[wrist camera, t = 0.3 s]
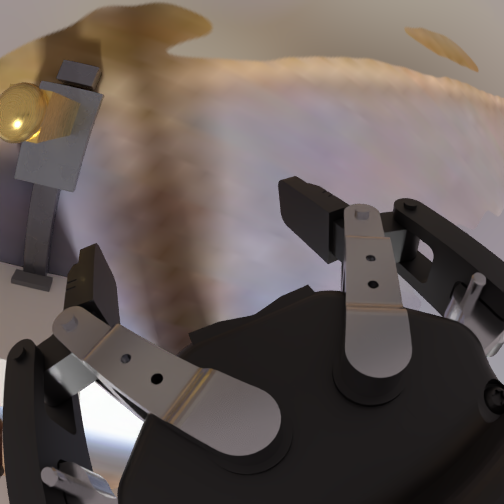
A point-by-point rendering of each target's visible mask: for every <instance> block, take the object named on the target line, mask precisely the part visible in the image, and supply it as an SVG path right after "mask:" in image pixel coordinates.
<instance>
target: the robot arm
mask: <svg viewBox="0 0 504 504" xmlns="http://www.w3.org/2000/svg"><path fill="white" fill-rule="evenodd" d="M278 189H279V199H280V209H281V215H282V219H283V221H284V223H285V224H286V225H287V226H288V227H289V228H290V229H291V230H292V231H293V232H294V233H295V234H296V235H298V236H299V237H300V238H301V239H302V240H303V241H304V242H305V243H306V244H307V245H308V246H309V247H310V248H312V249H313V250H314V251H315V252H316V253H317V254H318V255H319V256H320V257H321V258H322V259H323V260H324V261H325V262H326V263H327V264H330V263H332V262H334V261H336V260H340V261H341V262H342V265H341V291H319V292H314V291H313V290H312V289H311V288H310V287H309V285H306V286H304V287H302V288H299V289H297V290H295V291H293V292H290V293H288V294H286V295H283V296H281V297H279V298H278V299H277V300H275V301H274V302H272V303H271V304H269V305H268V306H267V307H265V308H264V309H262V310H261V311H259V312H258V313H256V314H254V315H251V316H247V317H242V318H236V319H231V320H226V321H220V322H217V323H215V324H212V325H210V326H207V327H204V328H202V329H199V330H197V331H194V332H191V333H189V336H190V339H191V341H192V343H191V344H190V345H188V346H187V347H185V348H184V349H183V350H182V351H181V352H180V353H179V354H178V355H177V356H175V355H173V354H172V353H170V352H168V351H166V350H164V349H162V348H160V347H159V346H157V345H155V344H153V343H151V342H150V341H148V340H146V339H144V338H142V337H141V336H139V335H137V334H135V333H134V332H132V331H130V330H129V329H127V328H125V327H124V326H122V325H120V317H119V308H118V297H117V286H116V282H115V279H114V276H113V274H112V272H111V270H110V268H109V266H108V264H107V262H106V260H105V258H104V255H103V253H102V251H101V249H100V247H99V245H98V244H97V243H96V244H93V245H91V246H88V247H86V248H83V249H81V250H80V254H79V262H78V264H75V265H73V266H72V268H71V270H70V272H69V273H68V277H67V284H66V291H65V299H64V308H63V311H62V312H61V313H60V314H59V315H58V316H57V317H56V319H55V320H54V322H53V325H52V332H53V334H52V335H51V336H50V337H49V338H47V339H46V340H45V341H43V342H42V343H40V344H39V345H37V346H36V344H35V343H34V342H33V341H32V340H31V339H23V340H21V341H19V342H17V343H16V344H15V345H14V346H13V347H12V348H11V350H10V351H9V353H8V356H7V360H6V369H5V380H4V395H3V448H4V463H5V473H6V482H7V489H8V496H9V501H10V504H504V385H503V384H502V383H501V382H500V381H499V380H498V379H497V377H496V375H495V374H494V372H493V370H492V369H491V367H490V365H489V362H488V360H487V358H486V357H491V356H494V355H495V354H496V353H497V352H498V351H499V349H500V348H501V346H502V345H503V343H504V262H503V261H502V260H501V259H500V258H498V257H497V256H496V255H495V254H493V253H492V252H491V251H489V250H488V249H487V248H486V247H484V246H483V245H482V244H480V243H479V242H477V241H476V240H475V239H474V238H472V237H471V236H469V235H468V234H467V233H465V232H464V231H462V230H461V229H460V228H458V227H457V226H455V225H454V224H453V223H451V222H450V221H448V220H447V219H445V218H444V217H442V216H441V215H439V214H438V213H436V212H435V211H433V210H432V209H430V208H429V207H427V206H426V205H424V204H422V203H421V202H419V201H417V200H414V199H409V198H402V199H398V200H396V201H395V202H394V209H393V212H385V213H379V211H378V210H377V209H376V208H375V207H373V206H370V205H367V204H353V205H348V204H347V203H345V202H344V201H342V200H341V199H339V198H337V197H336V196H334V195H332V194H331V193H329V192H327V191H326V190H325V189H323V188H321V187H320V186H317V185H313V184H310V183H306V182H305V181H303V180H302V179H300V178H298V177H296V176H294V177H290V178H287V179H283V180H280V181H279V183H278ZM420 239H421V240H422V241H423V242H425V243H426V244H427V245H428V246H430V248H431V249H432V251H433V254H434V259H433V262H431V261H430V260H429V259H427V258H426V257H425V256H424V255H423V254H421V253H420V252H419V251H418V245H419V241H420ZM397 273H398V274H399V275H400V276H401V277H402V278H403V279H405V280H406V281H407V282H408V283H409V284H410V285H411V286H412V287H413V288H414V289H415V290H416V291H417V292H418V293H419V294H420V295H421V296H423V298H424V299H425V300H426V301H427V302H429V303H430V304H431V305H432V306H433V307H434V308H435V309H436V310H437V311H438V312H439V313H440V314H441V315H442V316H443V317H440V316H436V315H432V314H428V313H425V312H421V311H417V310H413V309H409V308H405V307H403V304H402V298H401V292H400V286H399V280H398V274H397ZM94 381H95V382H96V383H97V384H98V385H99V386H100V387H101V388H103V389H104V390H105V391H106V392H107V393H109V394H110V395H111V396H112V397H114V398H115V399H116V400H117V401H119V402H120V403H121V404H122V405H124V406H125V407H126V408H127V409H129V410H130V411H131V412H132V413H133V414H135V415H136V416H137V417H138V418H140V419H141V420H142V421H143V422H144V423H143V426H142V428H141V430H140V433H139V435H138V438H137V440H136V443H135V445H134V447H133V450H132V452H131V455H130V457H129V460H128V462H127V465H126V467H125V470H124V472H123V475H122V477H121V480H120V483H119V487H118V498H117V497H115V495H114V494H113V492H112V491H111V489H110V486H109V484H108V483H107V481H106V480H105V479H104V478H103V477H101V476H100V475H98V474H96V473H94V472H93V470H92V466H91V462H90V457H89V453H88V448H87V443H86V438H85V433H84V428H83V422H82V416H81V410H80V403H79V395H78V392H79V391H81V390H82V389H84V388H85V387H87V386H88V385H90V384H91V383H93V382H94Z"/></svg>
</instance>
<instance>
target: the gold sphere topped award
mask: <svg viewBox="0 0 504 504" xmlns="http://www.w3.org/2000/svg"><path fill="white" fill-rule="evenodd" d="M103 98H104V95H103V94H100V93H96V92H92V91H88V90H83V89H79V88H75V87H70V86H66V85H61V84H56V83H51V82H46V81H41V83H40V86H39V87H37V86H36V85H34V84H31V83H18V84H10V87H9V88H8V89H7V90H5V91H4V92H3V93H2V94H1V96H0V138H1V139H2V140H3V141H5V142H8V143H21V142H22V144H21V149H20V153H19V157H18V162H17V167H16V172H15V177H14V179H18V180H22V181H27V182H31V183H35V184H40V185H44V186H48V187H53V188H57V189H61V190H65V191H70V192H74V190H75V188H76V184H77V180H78V176H79V172H80V168H81V165H82V161H83V158H84V154H85V151H86V147H87V144H88V141H89V138H90V134H91V131H92V128H93V125H94V122H95V120H96V117H97V114H98V111H99V108H100V106H101V103H102V100H103Z"/></svg>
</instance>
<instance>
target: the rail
mask: <svg viewBox="0 0 504 504" xmlns="http://www.w3.org/2000/svg"><path fill="white" fill-rule="evenodd" d="M101 74H102V72H101V70H100V68H99V67H95V66H91V65H87V64H82V63H78V62H73V61H68V60H64V61H63V63H62V65H61V68H60V70H59V73H58V75H57V77H56V79H58V80H59V81H61V82H62V83H66V84H71V85H75V86H80V87H84V88H88V89H92V90H95V89H96V86H97V84H98V81H99V79H100V77H101ZM59 194H60V189H57V188H53V187H48V186H44V185H40V184H35V183H34V185H33V190H32V196H31V201H30V208H29V214H28V222H27V230H26V239H25V250H24V263H23V271H24V272H28V273H32V274H37V275H41V276H47V274H48V265H49V256H50V247H51V240H52V233H53V226H54V220H55V215H56V209H57V204H58V199H59Z"/></svg>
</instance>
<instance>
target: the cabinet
mask: <svg viewBox="0 0 504 504" xmlns="http://www.w3.org/2000/svg"><path fill="white" fill-rule="evenodd" d="M66 284H67V277H63V276H59V275H54V274H50V273H48V274H47V276H41V275H37V274H32V273H28V272H24V271H23V267H20V266H16V265H12V264H8V263H4V262H0V406H2V407H3V395H4V380H5V369H6V360H7V356H8V353H9V351H10V350H11V348H12V347H13V346H14V345H15V344H16V343H17V342H19V341H21V340H23V339H31V340H32V341H33V342H34V343H35V344H36V346H37V345H39V344H40V343H42V342H43V341H45V340H46V339H47V338H49V337H50V336H51V335H52V334H53V332H52V325H53V322H54V320H55V319H56V317H57V316H58V315H59V314H60V313H61V312H62V311H63V308H64V299H65V291H66ZM78 395H79V403H80V391H79V392H78Z"/></svg>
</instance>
